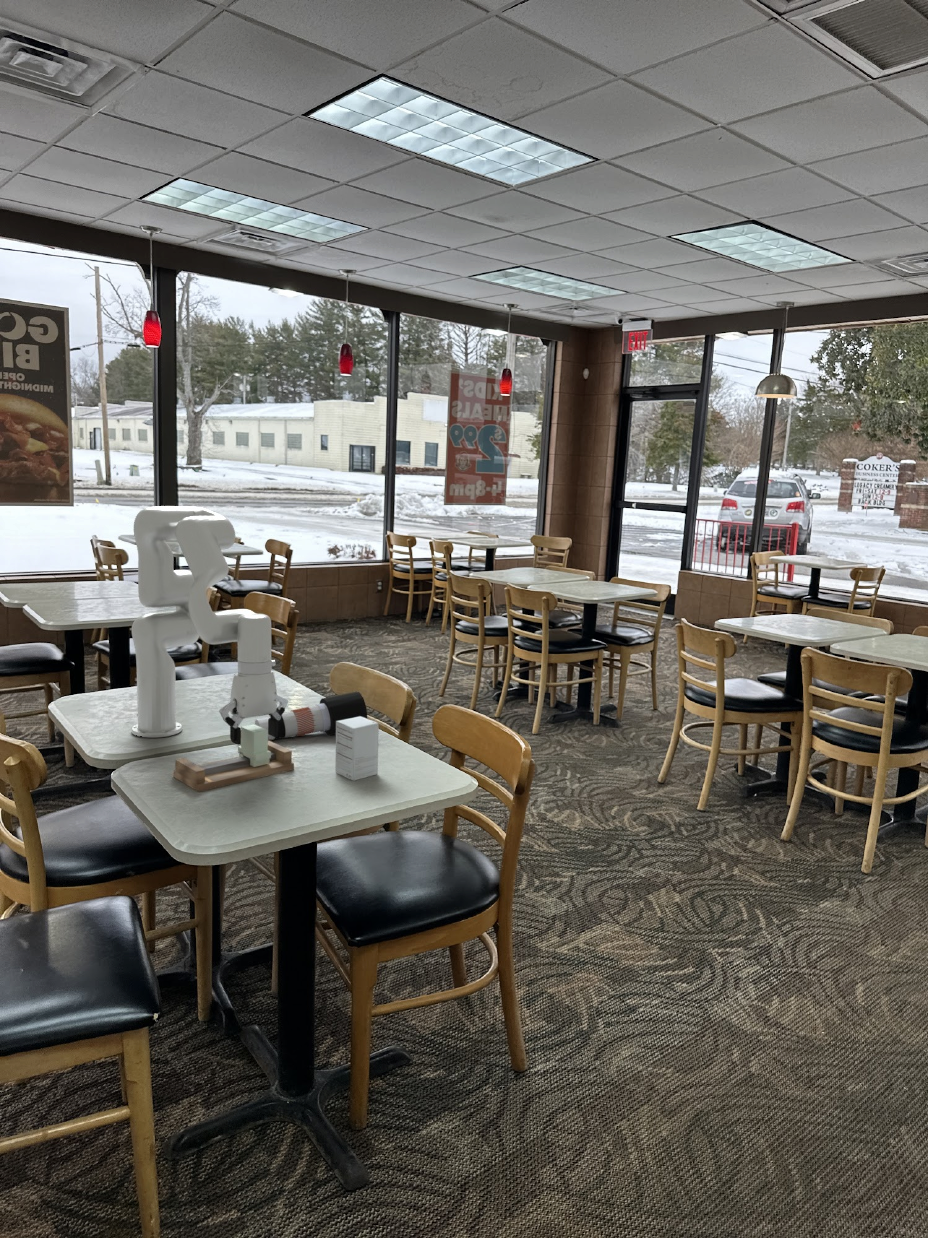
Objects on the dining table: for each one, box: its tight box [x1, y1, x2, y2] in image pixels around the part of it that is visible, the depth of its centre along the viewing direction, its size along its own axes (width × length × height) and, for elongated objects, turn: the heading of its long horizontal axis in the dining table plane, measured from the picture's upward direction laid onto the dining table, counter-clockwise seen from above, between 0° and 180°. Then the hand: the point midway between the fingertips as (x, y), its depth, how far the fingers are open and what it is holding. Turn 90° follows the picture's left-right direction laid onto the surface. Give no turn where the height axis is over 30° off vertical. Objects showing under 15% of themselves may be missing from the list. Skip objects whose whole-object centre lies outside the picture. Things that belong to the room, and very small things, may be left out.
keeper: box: [237, 723, 271, 767], centre depth 201 cm, size 8×4×8 cm, turn 44°
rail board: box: [172, 740, 295, 793], centre depth 198 cm, size 12×24×4 cm, turn 134°
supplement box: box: [334, 716, 380, 782], centre depth 200 cm, size 7×7×13 cm
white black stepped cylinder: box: [254, 691, 368, 741], centre depth 227 cm, size 10×34×10 cm, turn 116°
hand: (254, 739), depth 200 cm, fingers open, 9 cm apart
